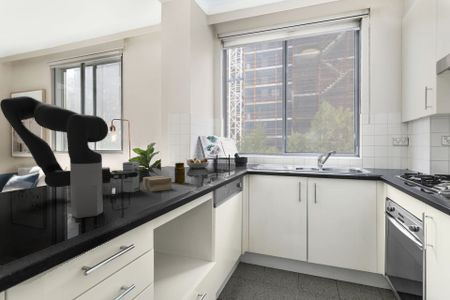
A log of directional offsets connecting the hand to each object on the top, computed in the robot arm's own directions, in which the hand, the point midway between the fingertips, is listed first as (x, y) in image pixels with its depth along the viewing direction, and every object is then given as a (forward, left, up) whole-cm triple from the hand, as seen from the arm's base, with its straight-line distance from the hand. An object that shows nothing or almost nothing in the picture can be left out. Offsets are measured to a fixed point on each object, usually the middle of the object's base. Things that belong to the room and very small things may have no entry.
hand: (135, 173), depth 119 cm
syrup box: (0, +2, -9) cm, 9 cm away
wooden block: (0, -11, -9) cm, 14 cm away
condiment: (+11, -26, -9) cm, 29 cm away
